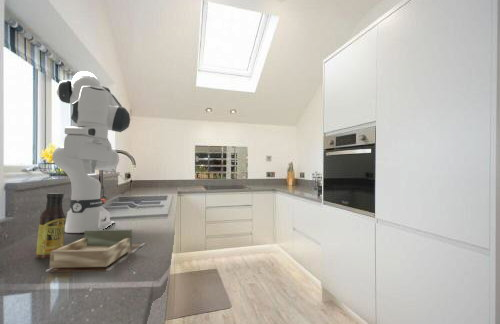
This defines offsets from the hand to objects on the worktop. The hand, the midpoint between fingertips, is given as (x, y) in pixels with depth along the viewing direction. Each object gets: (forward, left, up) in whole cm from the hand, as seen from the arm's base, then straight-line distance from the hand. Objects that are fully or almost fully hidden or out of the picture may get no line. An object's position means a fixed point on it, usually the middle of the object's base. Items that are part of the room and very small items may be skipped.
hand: (90, 173), depth 76 cm
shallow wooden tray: (+10, +9, -25) cm, 29 cm away
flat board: (+6, +9, -26) cm, 28 cm away
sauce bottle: (+4, -8, -26) cm, 28 cm away
